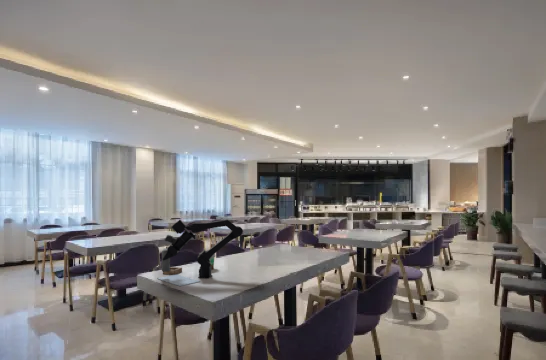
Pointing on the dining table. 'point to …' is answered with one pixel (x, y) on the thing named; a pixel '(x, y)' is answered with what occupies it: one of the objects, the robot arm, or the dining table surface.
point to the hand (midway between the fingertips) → (163, 259)
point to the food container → (212, 261)
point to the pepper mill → (165, 261)
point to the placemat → (178, 280)
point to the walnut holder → (173, 270)
